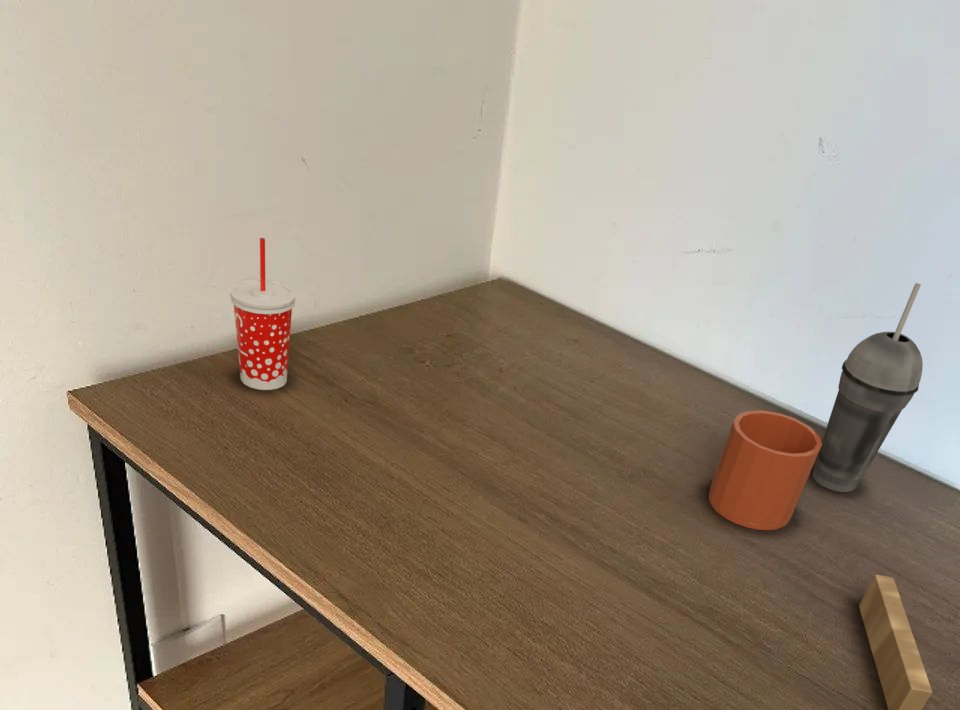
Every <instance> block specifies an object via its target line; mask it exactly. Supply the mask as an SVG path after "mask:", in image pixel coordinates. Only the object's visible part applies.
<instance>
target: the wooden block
mask: <svg viewBox="0 0 960 710" xmlns="http://www.w3.org/2000/svg"><path fill="white" fill-rule="evenodd" d="M858 608H859V611H860V615H861V619H862V622H863V626H864V629H865V632H866V636H867V639H868V643H869V646H870V647H869V648H870V650H871V653H872V658H873V661H874V664H875V669H876V672H877V675H878V679H879V682H880V685H881V690H882V692H883V696H884V700H885V703H886V707H887V710H923V708H924V707H925V705H926V704H927V702H928V700H929V699H930V697H931V696H932V694H933V690H932V686H931V684H930V681H929V678H928V674H927V671H926V669H925V665H924V663H923V660H922V657H921V654H920V650H919V649H918V645H917V642H916V639H915V637H914V634H913V631H912V628H911V625H910V622H909V618H908V616H907V613H906V610H905V607H904V605H903V601H902V598H901V596H900V593H899V590H898V586H897V583H896V580H895V578H894V577H893V576H887V575H881V574H877V573H876V574H874V576H873V578H872V579H871V581H870V584H869V585H868V587H867V589H866V591H865V593H864V595H863V597H862V599H861V601H860V603H859V604H858Z"/></svg>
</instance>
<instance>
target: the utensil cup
mask: <svg viewBox="0 0 960 710" xmlns="http://www.w3.org/2000/svg"><path fill="white" fill-rule="evenodd" d="M821 447H822V440H821V437H820V435H819V434H818V433H817V432H816V431H815V430H814V429H813V428H812V427H811V426H810V425H807V423H804V422H803V421H801V420H799V419H797V418H795V417H791V416H789V415H786V414H783V413H779V412H774V411H769V410H747V411H744V412H741V413H739V414H737V415H736V417H735V419H734V420H733V422H732V424H731V427H730V430H729V433H728V436H727V439H726V442H725V445H724V447H723V450H722V453H721V456H720V459H719V461H718V464H717V467H716V470H715V473H714V476H713V478H712V482H711V485H710V487H709V491H708V501H709V502H708V503H709V504H710V506H711V507H712V509H713V510H714V511H715V512H716V513H718V515H720V516H721V517H722V518H724V519H725V520H727V521H729V522H731V523H732V524H735V525H738V526H741V527H743V528H747V529H751V530H758V531H775V530H778V529H779V530H780V529H781V528H784V527H785V526H787V525H788V524H789V523H790V521H791V519H792V516H793V515H794V512H795V510H796V507H797V505H798V504H799V500H800V499H801V496H802V493H803V491H804V488H805V486H806V484H807V482H808V480H809V477H810V475H811V473H812V470H813V469H814V468H813V467H815V464H816V459H817V456H818V454H819V451H820V449H821Z"/></svg>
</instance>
